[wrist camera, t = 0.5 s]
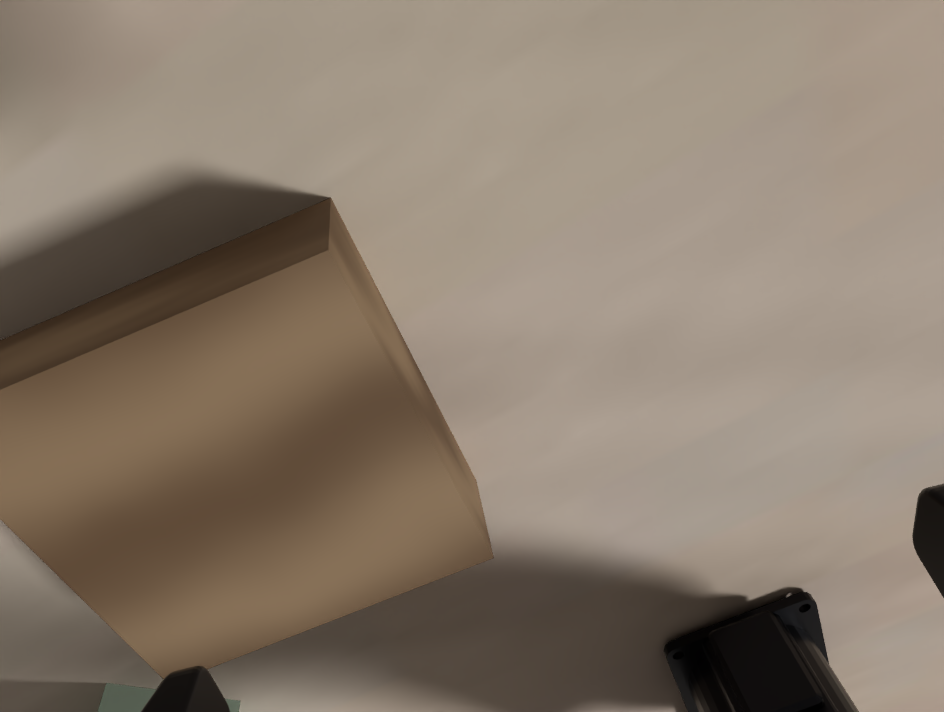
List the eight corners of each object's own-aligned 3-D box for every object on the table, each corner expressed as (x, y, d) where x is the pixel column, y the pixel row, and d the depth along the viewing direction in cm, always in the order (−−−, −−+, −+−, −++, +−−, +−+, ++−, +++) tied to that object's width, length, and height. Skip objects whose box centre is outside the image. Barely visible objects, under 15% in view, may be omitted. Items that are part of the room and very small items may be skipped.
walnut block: (474, 473, 27) (493, 557, 23) (190, 586, 27) (168, 684, 24) (331, 193, 21) (328, 249, 17) (-23, 346, 22) (-92, 429, 18)
